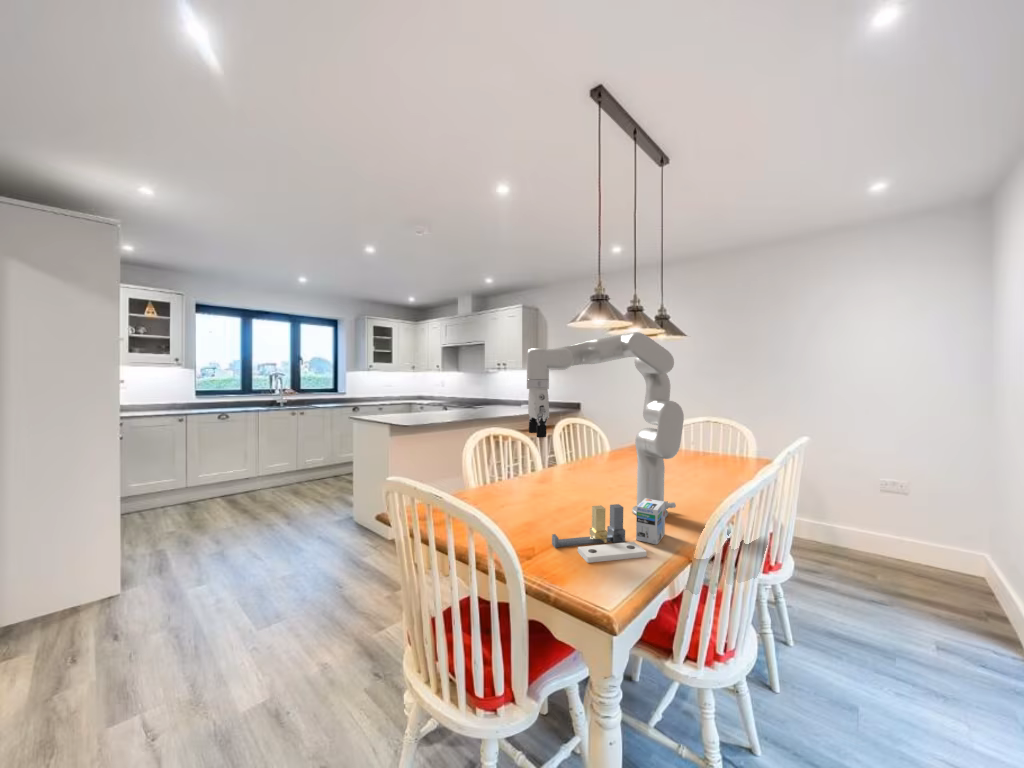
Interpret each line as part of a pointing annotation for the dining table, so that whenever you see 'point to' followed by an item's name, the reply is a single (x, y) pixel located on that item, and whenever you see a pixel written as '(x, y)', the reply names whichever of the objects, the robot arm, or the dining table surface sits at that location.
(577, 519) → the dining table surface
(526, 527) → the dining table surface
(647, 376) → the robot arm
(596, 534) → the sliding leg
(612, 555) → the hole plate
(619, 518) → the rail
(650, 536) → the light bulb box
